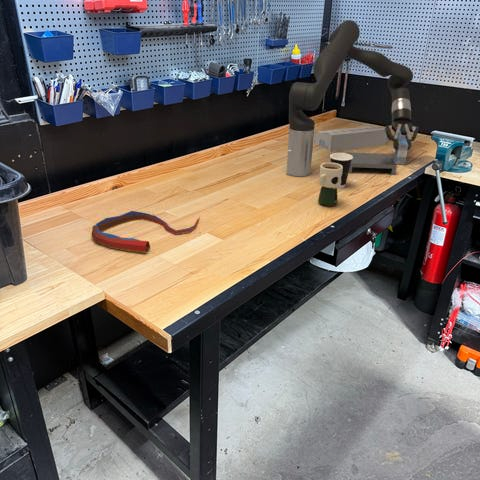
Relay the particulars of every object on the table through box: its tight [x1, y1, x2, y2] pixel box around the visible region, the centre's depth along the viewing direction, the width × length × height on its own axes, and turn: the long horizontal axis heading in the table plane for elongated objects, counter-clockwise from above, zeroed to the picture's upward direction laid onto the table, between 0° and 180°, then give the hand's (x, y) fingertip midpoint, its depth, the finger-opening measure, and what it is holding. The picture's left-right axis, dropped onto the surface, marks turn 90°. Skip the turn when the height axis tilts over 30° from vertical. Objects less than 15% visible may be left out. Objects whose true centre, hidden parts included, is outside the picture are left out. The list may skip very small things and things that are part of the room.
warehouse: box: [313, 125, 388, 152], centre depth 211 cm, size 30×14×8 cm, turn 112°
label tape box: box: [393, 131, 409, 166], centre depth 187 cm, size 9×4×12 cm, turn 169°
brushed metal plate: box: [344, 151, 398, 176], centre depth 181 cm, size 18×14×4 cm
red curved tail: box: [91, 210, 201, 254], centre depth 132 cm, size 31×22×5 cm
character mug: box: [317, 161, 343, 207], centre depth 147 cm, size 11×7×13 cm, turn 136°
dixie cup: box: [329, 152, 353, 189], centre depth 162 cm, size 8×8×11 cm
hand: (402, 149), depth 185 cm, fingers closed on label tape box, 4 cm apart
